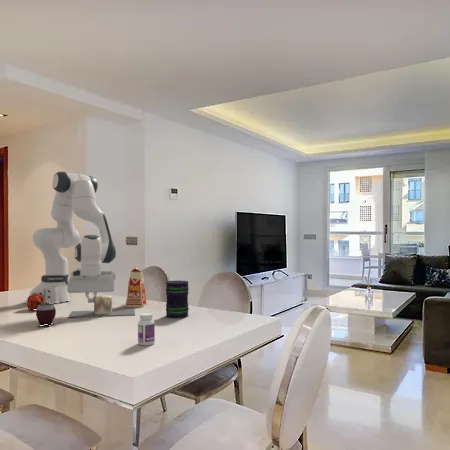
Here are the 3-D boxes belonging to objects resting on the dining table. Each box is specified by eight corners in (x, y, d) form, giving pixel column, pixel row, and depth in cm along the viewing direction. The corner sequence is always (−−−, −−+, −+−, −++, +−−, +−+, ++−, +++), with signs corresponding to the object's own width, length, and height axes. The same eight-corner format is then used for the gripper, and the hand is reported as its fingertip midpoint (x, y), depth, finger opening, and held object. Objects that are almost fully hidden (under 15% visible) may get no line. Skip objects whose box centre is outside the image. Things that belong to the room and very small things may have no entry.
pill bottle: (155, 341, 140) (155, 312, 141) (153, 345, 135) (153, 315, 135) (139, 341, 140) (139, 312, 140) (136, 346, 135) (136, 315, 135)
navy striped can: (184, 318, 178) (184, 283, 178) (162, 317, 180) (162, 282, 180) (191, 314, 188) (191, 280, 188) (170, 313, 190) (170, 280, 190)
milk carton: (143, 307, 207) (143, 266, 207) (124, 307, 207) (124, 266, 207) (147, 304, 216) (147, 264, 216) (129, 303, 216) (129, 264, 216)
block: (94, 298, 185) (111, 298, 187) (95, 295, 192) (112, 295, 194) (93, 314, 185) (110, 313, 187) (95, 311, 192) (111, 311, 194)
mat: (67, 318, 179) (67, 317, 179) (71, 312, 193) (71, 311, 193) (134, 315, 186) (134, 314, 186) (134, 309, 199) (134, 308, 199)
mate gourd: (48, 323, 170) (48, 285, 170) (60, 325, 166) (61, 286, 166) (31, 326, 163) (31, 287, 164) (44, 328, 159) (44, 289, 160)
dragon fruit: (35, 310, 205) (40, 318, 195) (20, 302, 201) (24, 309, 191) (47, 296, 207) (52, 303, 197) (32, 287, 203) (36, 293, 193)
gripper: (115, 270, 194) (115, 300, 194) (68, 271, 190) (68, 302, 189) (115, 271, 188) (114, 302, 187) (66, 272, 183) (66, 304, 183)
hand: (91, 302), depth 188 cm, fingers closed
